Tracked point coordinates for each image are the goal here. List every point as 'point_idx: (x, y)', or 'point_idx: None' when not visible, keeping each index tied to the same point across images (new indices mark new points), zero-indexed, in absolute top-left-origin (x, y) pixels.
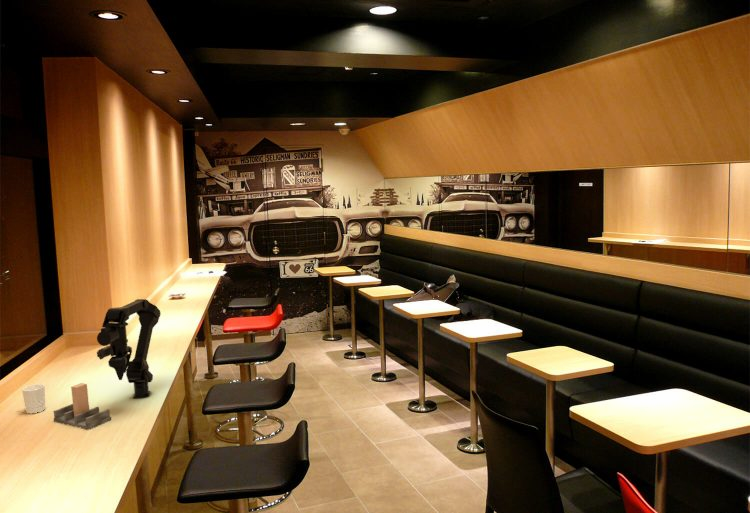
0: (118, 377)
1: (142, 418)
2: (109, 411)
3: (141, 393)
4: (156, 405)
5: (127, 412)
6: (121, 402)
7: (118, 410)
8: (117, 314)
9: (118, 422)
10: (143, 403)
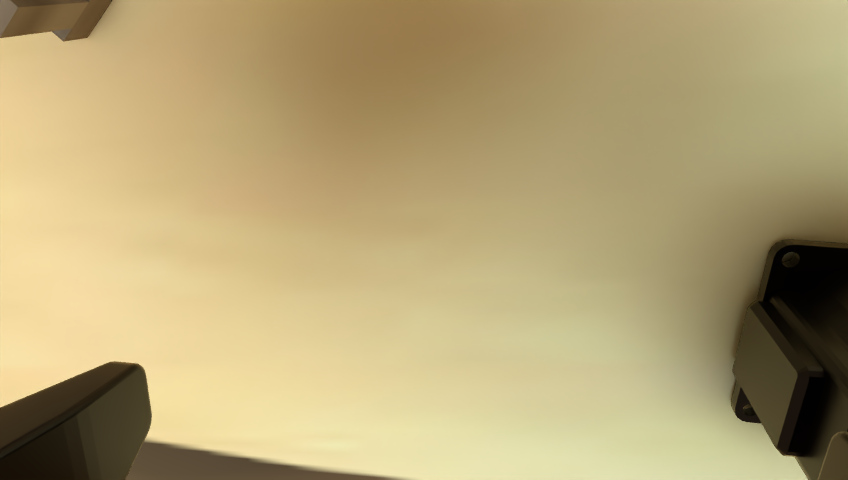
0: (33, 405)
1: (80, 352)
2: (21, 32)
3: (751, 373)
4: (407, 468)
5: (288, 202)
6: (701, 98)
7: (392, 89)
8: None
9: (4, 129)
10: (527, 355)
